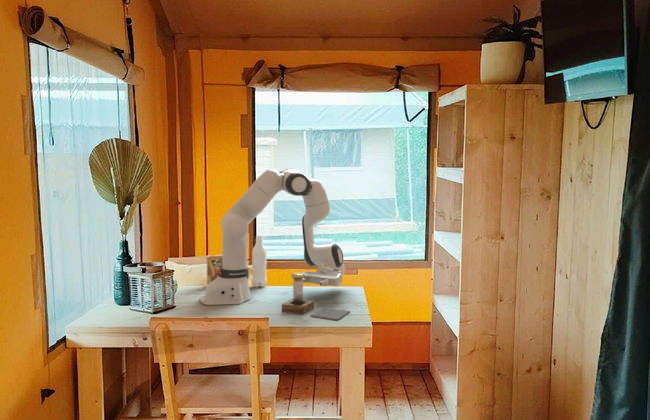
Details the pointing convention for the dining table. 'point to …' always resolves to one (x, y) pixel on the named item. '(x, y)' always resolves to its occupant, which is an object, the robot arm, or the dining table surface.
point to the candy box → (213, 267)
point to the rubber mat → (330, 313)
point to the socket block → (298, 307)
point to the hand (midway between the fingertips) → (311, 282)
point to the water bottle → (259, 263)
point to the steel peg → (298, 288)
